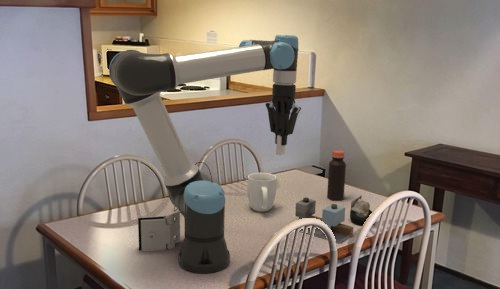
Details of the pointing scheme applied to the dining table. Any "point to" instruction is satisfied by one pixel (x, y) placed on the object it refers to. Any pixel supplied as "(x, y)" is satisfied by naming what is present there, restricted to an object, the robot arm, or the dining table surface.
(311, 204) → the trammel beam
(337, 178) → the bottle
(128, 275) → the dining table surface
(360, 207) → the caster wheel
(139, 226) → the hinge
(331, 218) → the block
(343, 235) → the bolt plate
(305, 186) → the dining table surface
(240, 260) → the dining table surface
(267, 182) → the mug
